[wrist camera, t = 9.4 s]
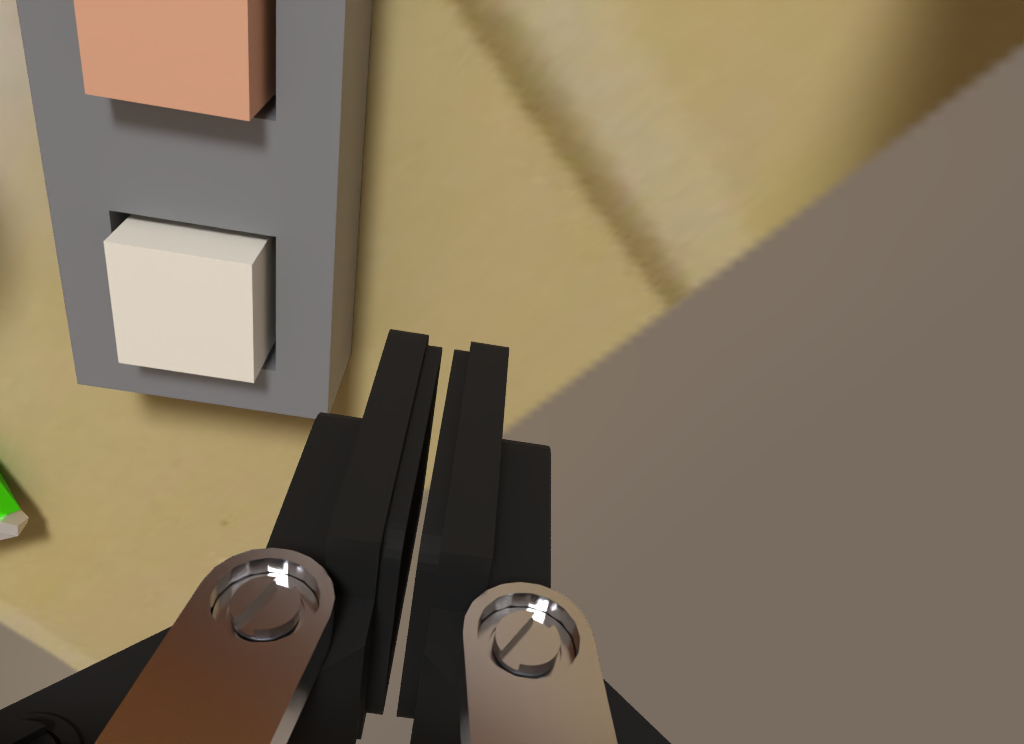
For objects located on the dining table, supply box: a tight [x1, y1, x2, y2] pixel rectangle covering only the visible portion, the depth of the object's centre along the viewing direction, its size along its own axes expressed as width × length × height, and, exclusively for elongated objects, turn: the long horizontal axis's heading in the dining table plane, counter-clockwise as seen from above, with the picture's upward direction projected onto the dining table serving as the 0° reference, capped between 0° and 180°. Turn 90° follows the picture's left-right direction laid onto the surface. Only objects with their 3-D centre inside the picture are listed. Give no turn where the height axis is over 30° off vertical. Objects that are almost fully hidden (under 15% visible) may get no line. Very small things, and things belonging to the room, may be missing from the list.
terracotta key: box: [74, 0, 276, 121], centre depth 32 cm, size 6×6×6 cm
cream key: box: [103, 214, 276, 383], centre depth 39 cm, size 6×6×6 cm
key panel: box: [16, 0, 373, 419], centre depth 37 cm, size 12×24×6 cm, turn 171°
